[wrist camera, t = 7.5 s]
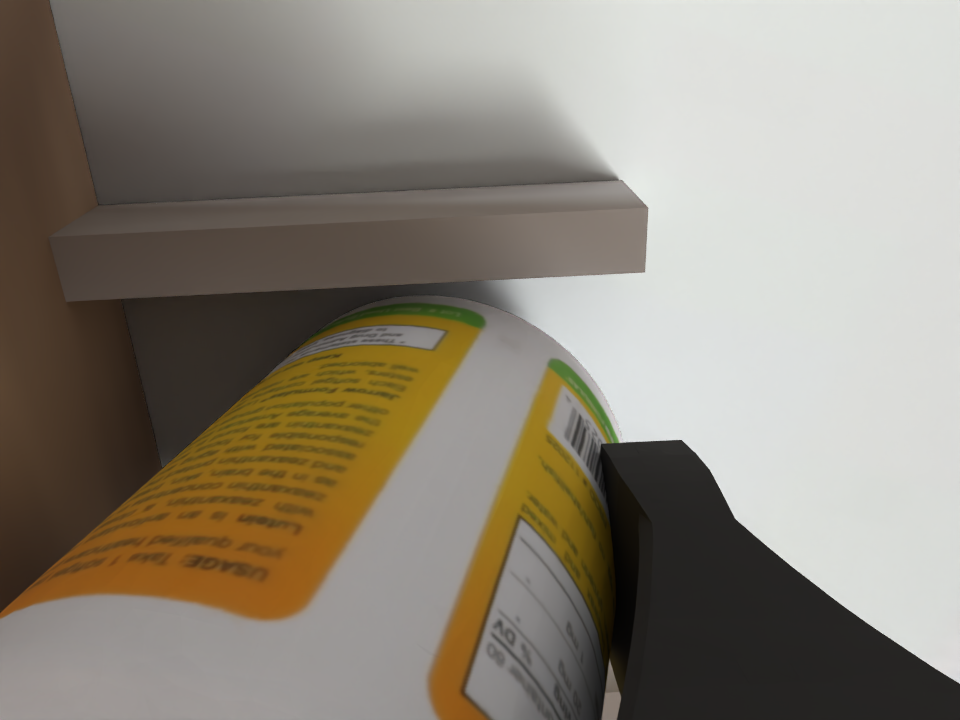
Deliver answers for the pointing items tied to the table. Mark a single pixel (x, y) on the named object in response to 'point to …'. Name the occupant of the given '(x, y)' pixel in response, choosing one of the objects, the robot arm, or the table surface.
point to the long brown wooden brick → (203, 287)
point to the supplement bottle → (350, 544)
